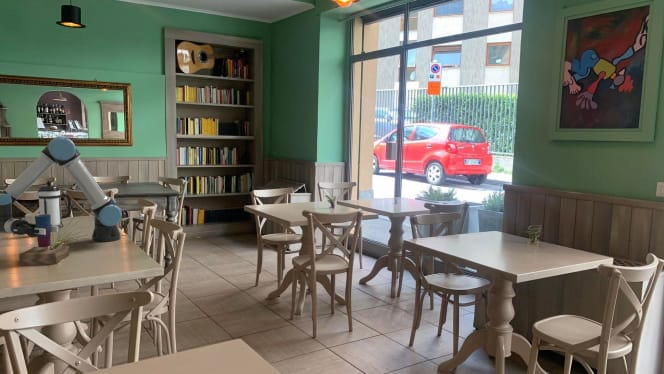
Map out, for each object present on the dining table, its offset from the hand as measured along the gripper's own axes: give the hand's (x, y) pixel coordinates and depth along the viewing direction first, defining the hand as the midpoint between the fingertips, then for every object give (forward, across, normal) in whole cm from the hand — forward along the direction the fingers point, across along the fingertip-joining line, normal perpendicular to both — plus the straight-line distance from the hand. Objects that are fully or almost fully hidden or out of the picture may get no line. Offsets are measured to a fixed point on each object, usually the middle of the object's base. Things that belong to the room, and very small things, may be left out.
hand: (51, 230), depth 241 cm
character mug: (-61, -37, -15) cm, 73 cm away
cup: (-5, 0, -8) cm, 10 cm away
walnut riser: (-5, 0, -15) cm, 16 cm away
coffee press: (-76, -62, -15) cm, 99 cm away
